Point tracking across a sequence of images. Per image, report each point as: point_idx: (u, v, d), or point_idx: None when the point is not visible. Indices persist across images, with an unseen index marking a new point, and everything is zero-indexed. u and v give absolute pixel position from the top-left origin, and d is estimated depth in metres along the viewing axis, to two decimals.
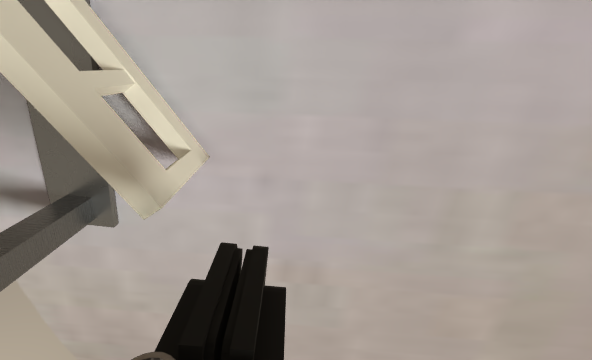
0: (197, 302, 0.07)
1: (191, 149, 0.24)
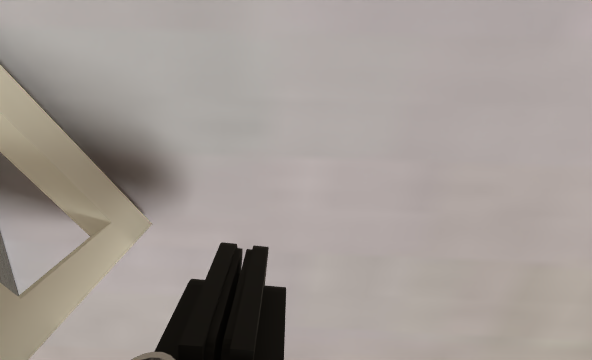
0: (197, 302, 0.07)
1: (112, 221, 0.14)
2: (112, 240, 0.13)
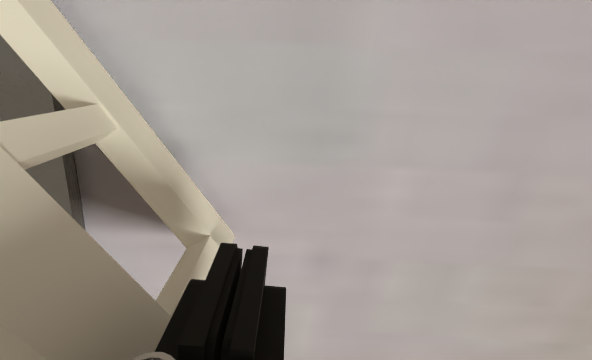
0: (197, 302, 0.07)
1: (210, 234, 0.14)
2: (214, 253, 0.14)
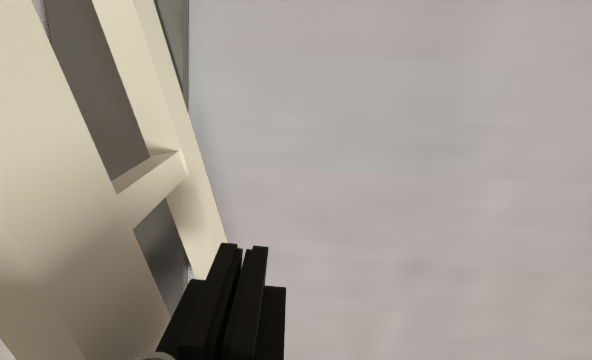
0: (197, 302, 0.07)
1: None
2: None
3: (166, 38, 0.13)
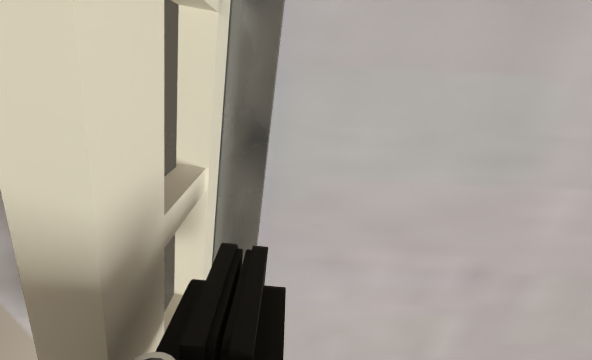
0: (198, 302, 0.07)
1: None
2: None
3: (262, 53, 0.13)
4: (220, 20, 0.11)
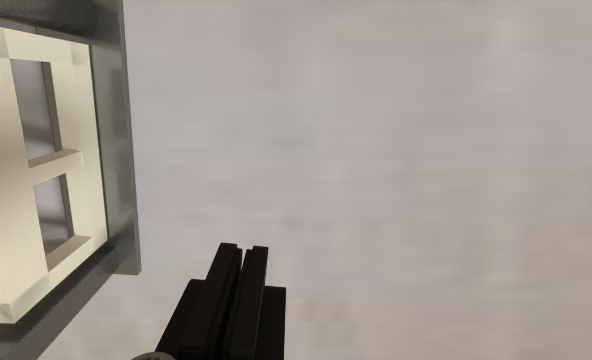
0: (197, 302, 0.07)
1: (93, 235, 0.25)
2: (87, 247, 0.24)
3: (113, 83, 0.23)
4: (77, 67, 0.21)
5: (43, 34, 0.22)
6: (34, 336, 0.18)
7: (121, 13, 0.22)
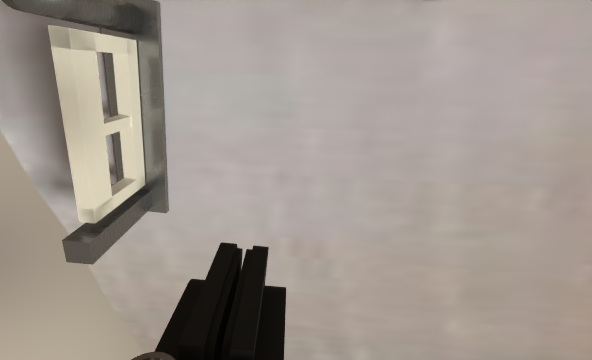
0: (197, 302, 0.07)
1: (136, 179, 0.35)
2: (133, 186, 0.34)
3: (153, 67, 0.32)
4: (129, 56, 0.30)
5: (105, 32, 0.31)
6: (106, 234, 0.28)
7: (159, 17, 0.31)
